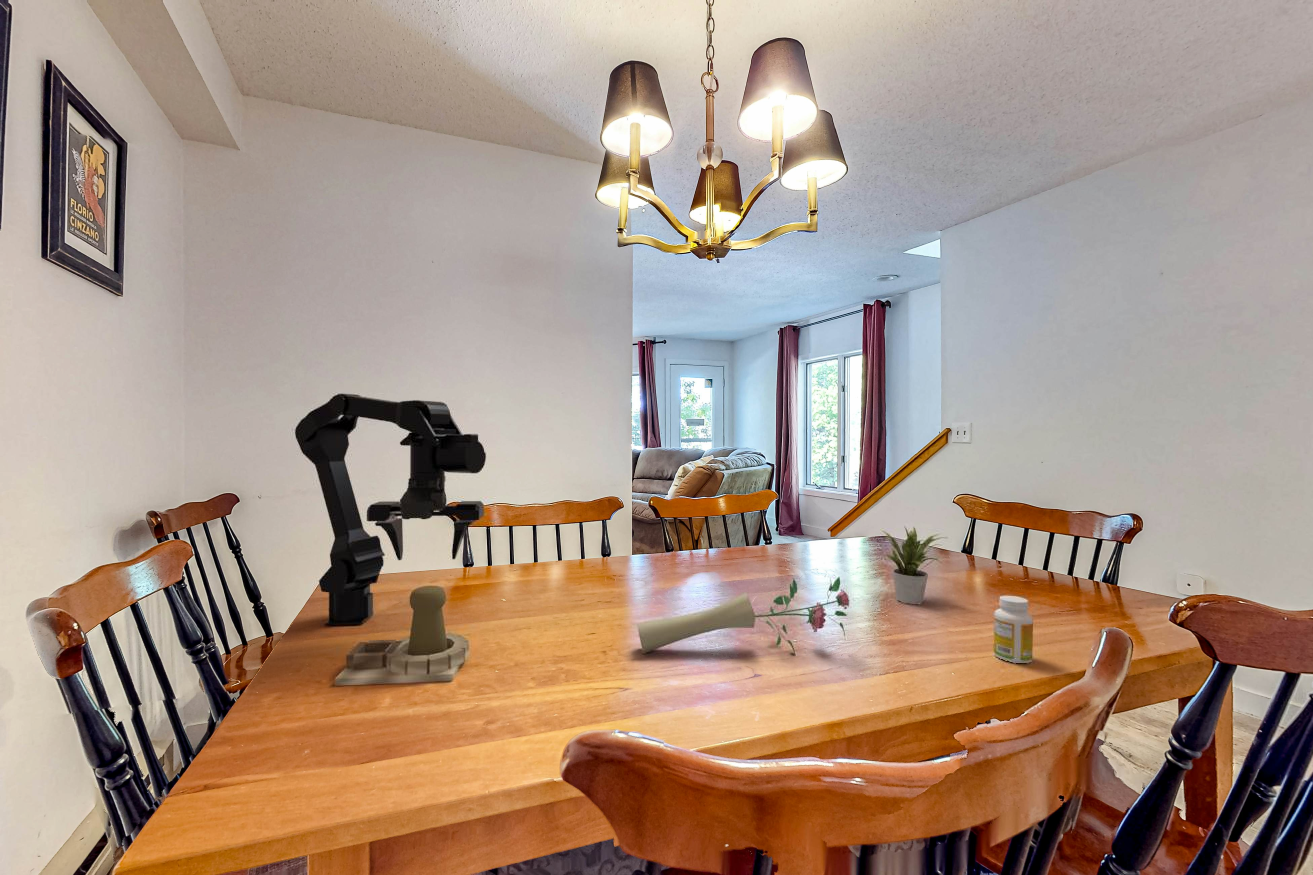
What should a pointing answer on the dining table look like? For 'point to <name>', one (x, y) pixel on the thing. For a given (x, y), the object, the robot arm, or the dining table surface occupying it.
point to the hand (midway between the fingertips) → (427, 559)
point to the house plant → (910, 567)
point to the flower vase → (730, 619)
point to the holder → (401, 663)
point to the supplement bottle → (1013, 630)
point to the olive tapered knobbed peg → (427, 621)
